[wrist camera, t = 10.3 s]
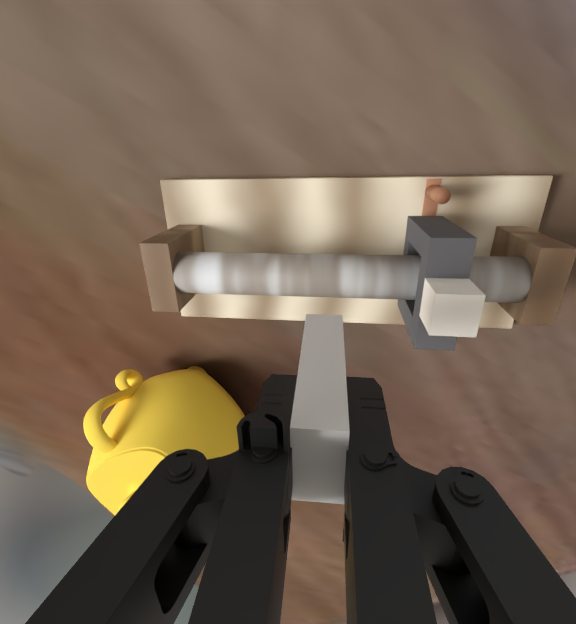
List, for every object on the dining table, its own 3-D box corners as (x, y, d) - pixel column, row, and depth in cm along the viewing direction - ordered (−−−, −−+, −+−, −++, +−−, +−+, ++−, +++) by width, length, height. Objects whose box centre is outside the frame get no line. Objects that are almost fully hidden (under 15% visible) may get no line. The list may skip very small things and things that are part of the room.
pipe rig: (185, 311, 34) (148, 352, 27) (165, 179, 29) (113, 188, 22) (506, 323, 31) (554, 373, 24) (545, 174, 26) (620, 184, 19)
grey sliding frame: (397, 304, 29) (423, 371, 20) (407, 215, 26) (443, 249, 17) (428, 305, 28) (467, 373, 20) (442, 215, 25) (495, 250, 17)
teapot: (188, 319, 35) (115, 404, 23) (302, 455, 40) (288, 577, 29) (99, 377, 39) (0, 472, 28) (212, 492, 45) (169, 611, 33)
